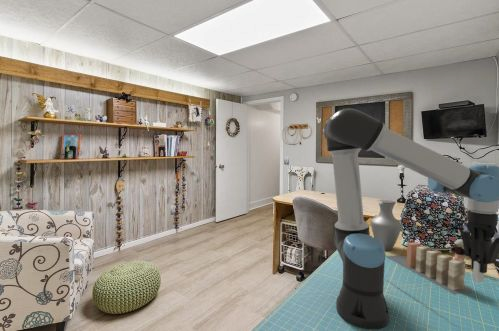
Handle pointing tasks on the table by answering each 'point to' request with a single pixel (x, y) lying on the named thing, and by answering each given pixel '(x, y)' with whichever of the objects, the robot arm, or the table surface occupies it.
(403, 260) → the domino board
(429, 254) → the domino
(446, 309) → the table surface
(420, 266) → the domino
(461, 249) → the grandmother figurine
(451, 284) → the domino
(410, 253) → the domino
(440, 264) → the domino
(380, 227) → the vase
